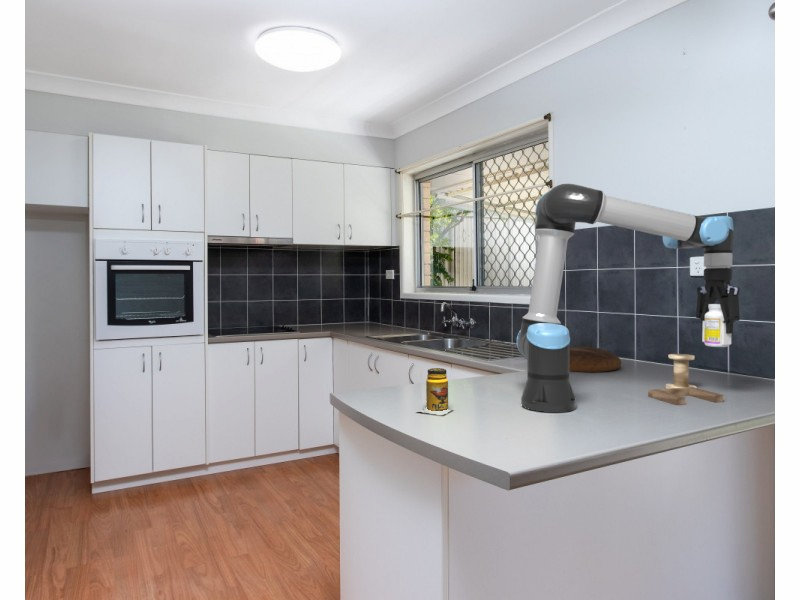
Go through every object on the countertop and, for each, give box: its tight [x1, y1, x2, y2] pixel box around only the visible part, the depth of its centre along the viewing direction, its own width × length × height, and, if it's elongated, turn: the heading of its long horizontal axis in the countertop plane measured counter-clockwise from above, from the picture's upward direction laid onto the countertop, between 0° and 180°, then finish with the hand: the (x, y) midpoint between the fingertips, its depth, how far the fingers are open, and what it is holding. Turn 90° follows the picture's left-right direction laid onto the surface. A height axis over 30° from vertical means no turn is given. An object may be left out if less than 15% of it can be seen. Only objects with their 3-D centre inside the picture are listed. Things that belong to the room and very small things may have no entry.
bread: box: [569, 346, 622, 373], centre depth 220 cm, size 28×27×9 cm
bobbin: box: [665, 353, 698, 389], centre depth 174 cm, size 9×9×11 cm
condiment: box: [425, 367, 449, 411], centre depth 148 cm, size 7×8×12 cm
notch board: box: [647, 387, 724, 406], centre depth 161 cm, size 16×12×2 cm
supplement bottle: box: [703, 303, 730, 348], centre depth 163 cm, size 7×7×13 cm
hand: (716, 342), depth 163 cm, fingers closed on supplement bottle, 7 cm apart
